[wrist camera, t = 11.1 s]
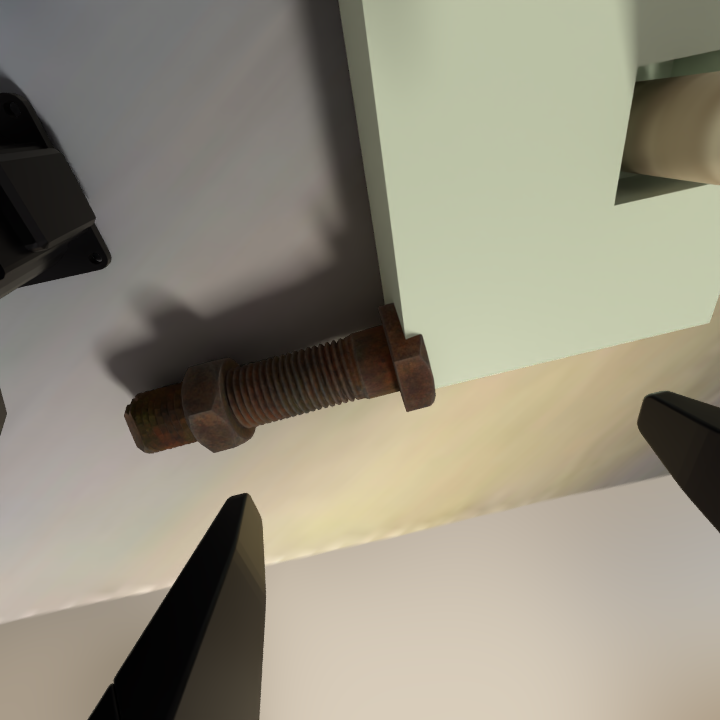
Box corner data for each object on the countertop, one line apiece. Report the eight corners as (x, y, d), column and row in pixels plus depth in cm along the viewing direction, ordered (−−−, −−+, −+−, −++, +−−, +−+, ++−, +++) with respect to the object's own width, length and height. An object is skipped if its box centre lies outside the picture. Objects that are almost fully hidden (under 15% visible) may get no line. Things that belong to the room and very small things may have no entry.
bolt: (158, 372, 23) (405, 304, 22) (183, 453, 23) (427, 389, 22) (84, 385, 17) (413, 294, 16) (118, 493, 18) (443, 410, 17)
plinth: (391, 347, 22) (412, 394, 19) (319, -122, 13) (333, -225, 9) (639, 289, 23) (709, 322, 19) (752, -202, 13) (939, -331, 9)
